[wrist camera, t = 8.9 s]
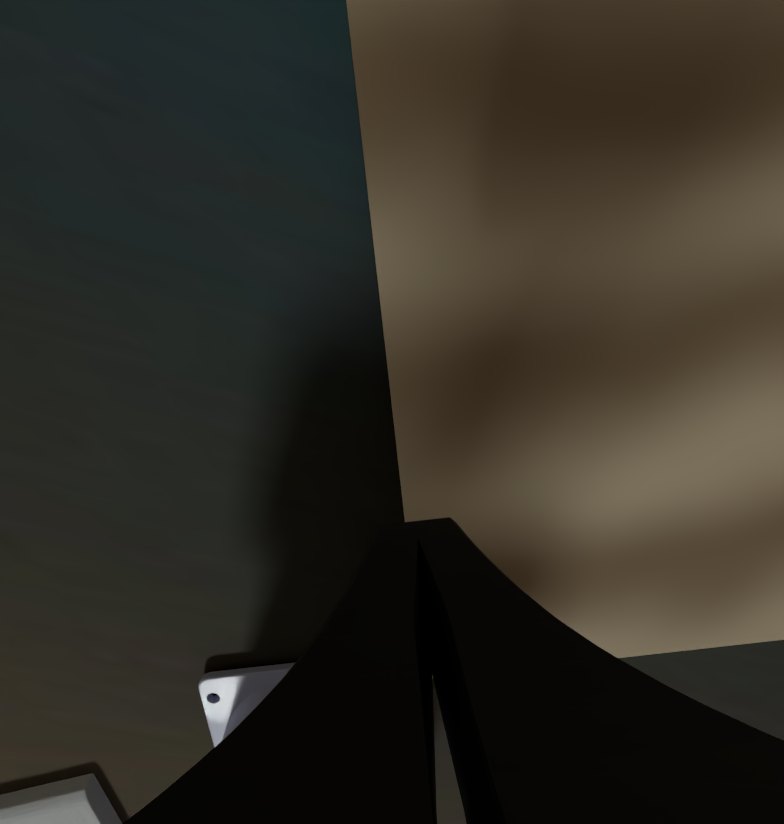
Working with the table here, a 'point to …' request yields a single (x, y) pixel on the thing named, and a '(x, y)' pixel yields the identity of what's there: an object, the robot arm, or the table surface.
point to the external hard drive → (59, 804)
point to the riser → (588, 298)
